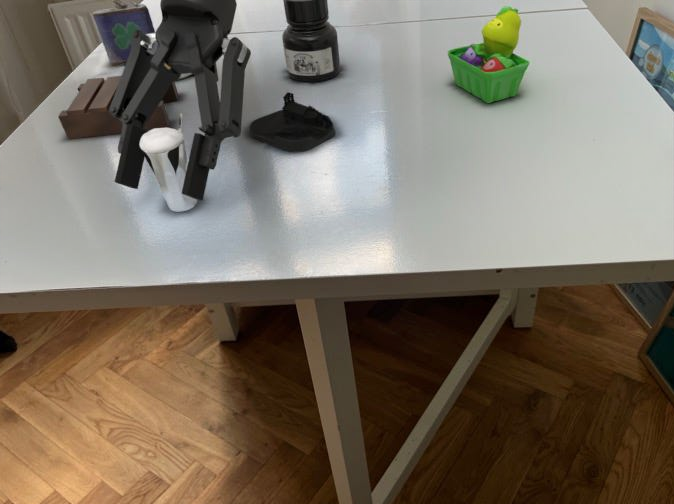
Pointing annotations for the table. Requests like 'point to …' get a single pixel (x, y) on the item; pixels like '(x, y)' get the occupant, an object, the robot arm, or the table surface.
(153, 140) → the milkshake
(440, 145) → the table surface
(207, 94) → the robot arm
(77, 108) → the rack
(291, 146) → the black miniature model
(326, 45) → the ink bottle
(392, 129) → the table surface
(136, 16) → the flask
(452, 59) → the fruit basket
